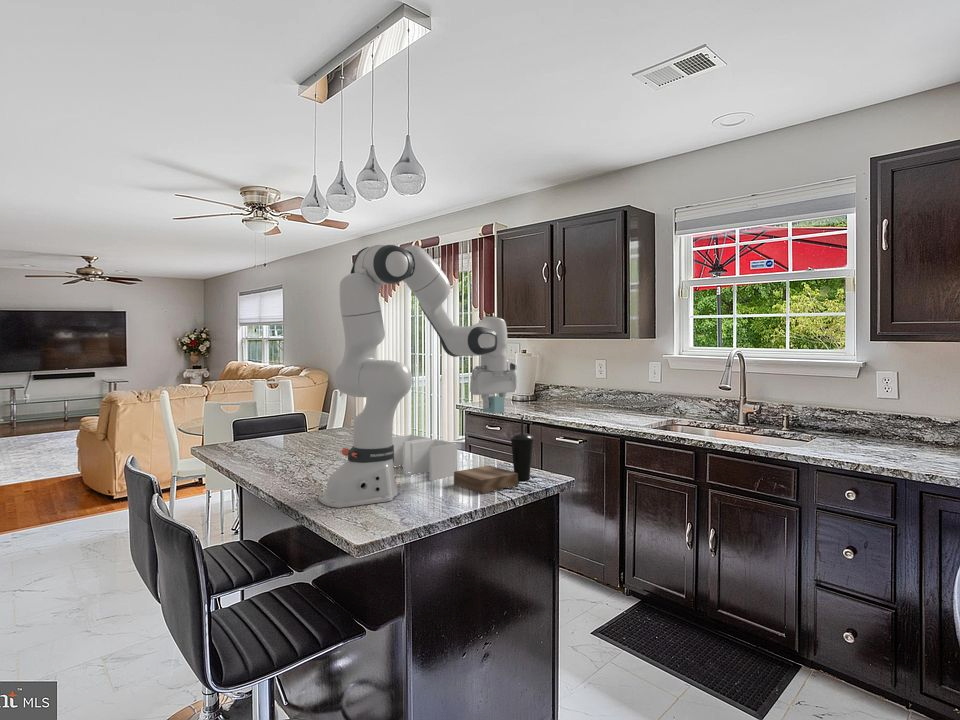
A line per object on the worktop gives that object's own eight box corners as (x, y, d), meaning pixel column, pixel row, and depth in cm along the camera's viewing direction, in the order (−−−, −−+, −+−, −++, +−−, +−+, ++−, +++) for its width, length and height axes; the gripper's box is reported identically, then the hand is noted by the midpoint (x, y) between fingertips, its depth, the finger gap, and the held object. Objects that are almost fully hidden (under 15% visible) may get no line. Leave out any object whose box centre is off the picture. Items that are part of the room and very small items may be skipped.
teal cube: (494, 413, 181) (494, 397, 181) (483, 412, 184) (483, 397, 184) (504, 412, 185) (504, 397, 185) (492, 410, 188) (492, 396, 188)
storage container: (457, 475, 185) (457, 443, 184) (431, 481, 177) (431, 447, 177) (411, 464, 202) (410, 434, 202) (386, 469, 195) (385, 438, 194)
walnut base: (481, 493, 161) (481, 480, 161) (454, 484, 172) (454, 471, 172) (517, 486, 170) (517, 473, 170) (489, 477, 181) (489, 465, 181)
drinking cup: (535, 481, 175) (535, 418, 175) (511, 481, 175) (510, 418, 175) (532, 475, 183) (532, 415, 183) (509, 476, 183) (509, 415, 183)
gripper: (480, 366, 175) (480, 410, 175) (519, 365, 190) (519, 405, 190) (465, 365, 179) (465, 408, 179) (505, 364, 194) (505, 404, 194)
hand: (493, 407), depth 185 cm, fingers closed on teal cube, 5 cm apart
